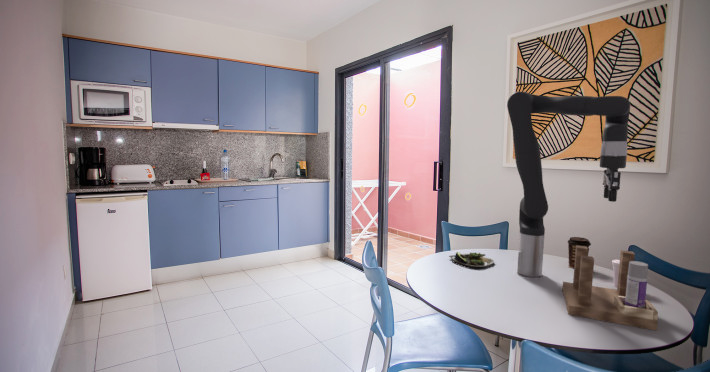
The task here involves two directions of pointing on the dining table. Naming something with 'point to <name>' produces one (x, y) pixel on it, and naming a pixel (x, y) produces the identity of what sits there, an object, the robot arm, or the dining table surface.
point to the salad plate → (472, 260)
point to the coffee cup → (572, 248)
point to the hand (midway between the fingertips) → (609, 199)
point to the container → (636, 284)
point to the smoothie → (615, 271)
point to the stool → (605, 295)
